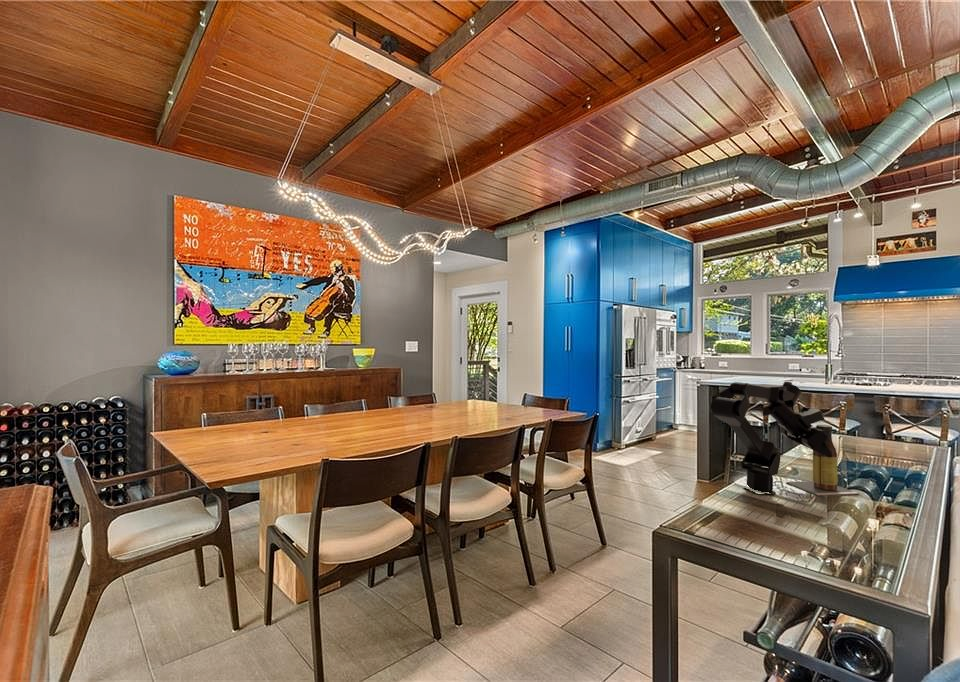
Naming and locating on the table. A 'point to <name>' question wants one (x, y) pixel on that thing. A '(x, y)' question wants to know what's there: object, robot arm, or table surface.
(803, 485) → the mat
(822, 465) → the sauce bottle
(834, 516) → the table surface
